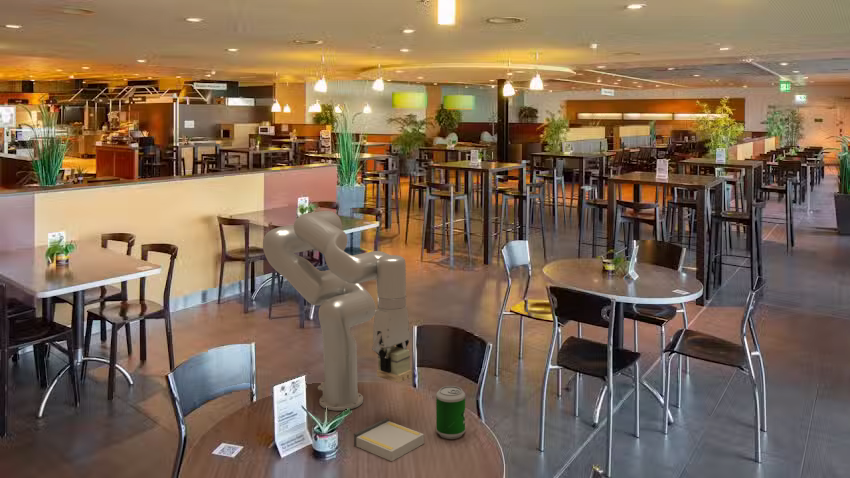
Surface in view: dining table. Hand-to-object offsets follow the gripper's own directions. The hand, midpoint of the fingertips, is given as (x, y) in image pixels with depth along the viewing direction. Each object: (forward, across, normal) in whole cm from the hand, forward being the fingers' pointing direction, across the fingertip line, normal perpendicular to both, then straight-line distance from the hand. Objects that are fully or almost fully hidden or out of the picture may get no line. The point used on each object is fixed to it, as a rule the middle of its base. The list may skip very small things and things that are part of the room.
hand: (393, 367), depth 179 cm
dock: (+15, +11, +8) cm, 20 cm away
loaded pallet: (+3, 0, 0) cm, 3 cm away
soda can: (+16, -4, +16) cm, 23 cm away
